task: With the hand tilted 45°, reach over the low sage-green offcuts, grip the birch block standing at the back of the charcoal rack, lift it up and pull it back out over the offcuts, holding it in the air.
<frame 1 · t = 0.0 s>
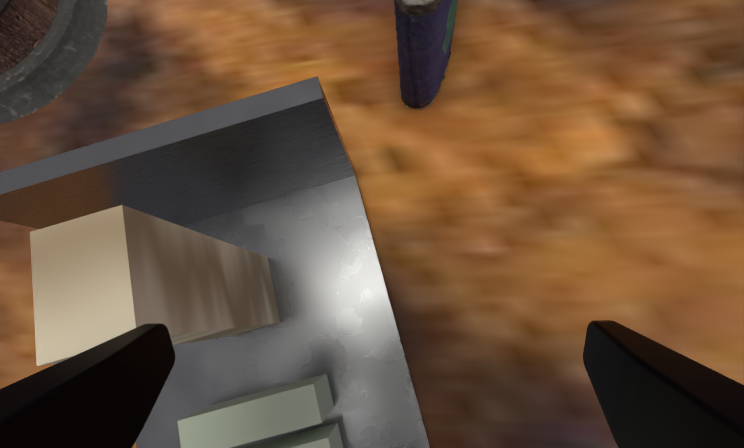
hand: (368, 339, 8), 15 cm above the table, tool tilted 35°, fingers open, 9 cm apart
rack: (270, 370, 23), on the table
flask: (428, 53, 27), on the table
birch block: (249, 295, 23), point 1 cm above the table, touching rack
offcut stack: (270, 370, 23), resting on rack
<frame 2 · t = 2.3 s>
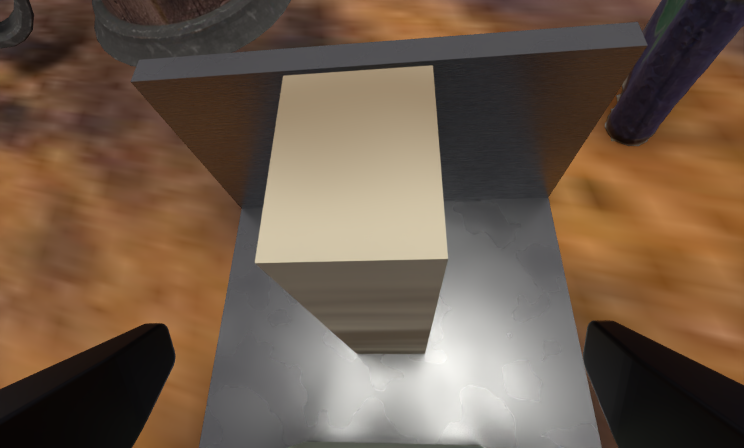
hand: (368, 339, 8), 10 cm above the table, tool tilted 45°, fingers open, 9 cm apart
rack: (392, 417, 16), on the table
flask: (641, 91, 23), on the table
tankard: (159, 13, 31), on the table
birch block: (390, 308, 17), point 1 cm above the table, touching rack
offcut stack: (392, 417, 16), resting on rack
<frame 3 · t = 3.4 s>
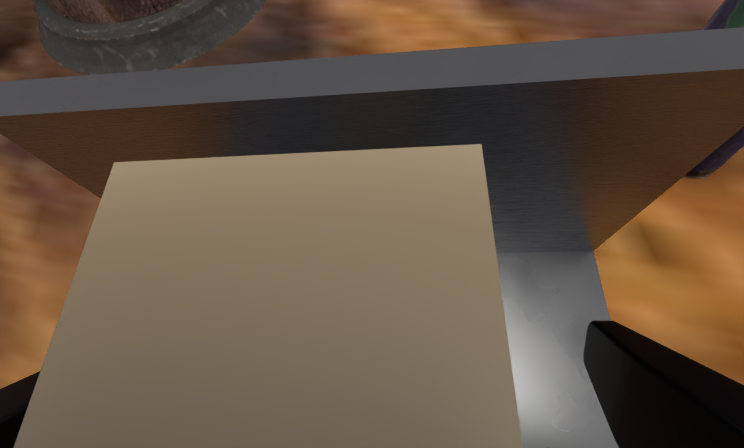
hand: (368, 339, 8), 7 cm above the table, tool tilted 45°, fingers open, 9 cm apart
flask: (700, 107, 18), on the table
tankard: (116, 10, 26), on the table
birch block: (386, 406, 13), point 1 cm above the table, touching rack
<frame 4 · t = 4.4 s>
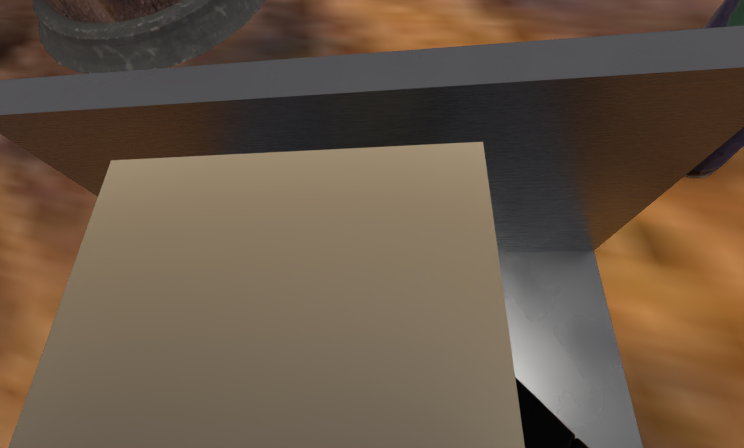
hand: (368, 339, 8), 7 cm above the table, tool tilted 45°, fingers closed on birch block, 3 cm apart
flask: (701, 106, 18), on the table
tankard: (116, 9, 26), on the table
birch block: (386, 406, 13), point 1 cm above the table, touching gripper, rack
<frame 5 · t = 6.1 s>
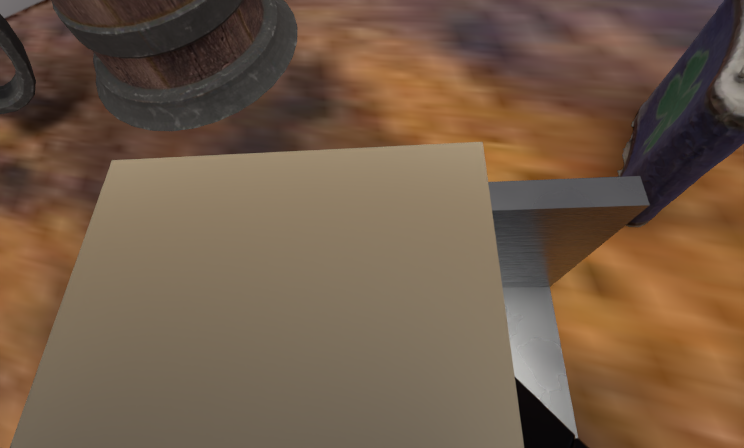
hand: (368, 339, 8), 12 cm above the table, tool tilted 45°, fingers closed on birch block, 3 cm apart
flask: (642, 166, 23), on the table
tankard: (161, 68, 31), on the table
birch block: (386, 406, 13), point 6 cm above the table, touching gripper
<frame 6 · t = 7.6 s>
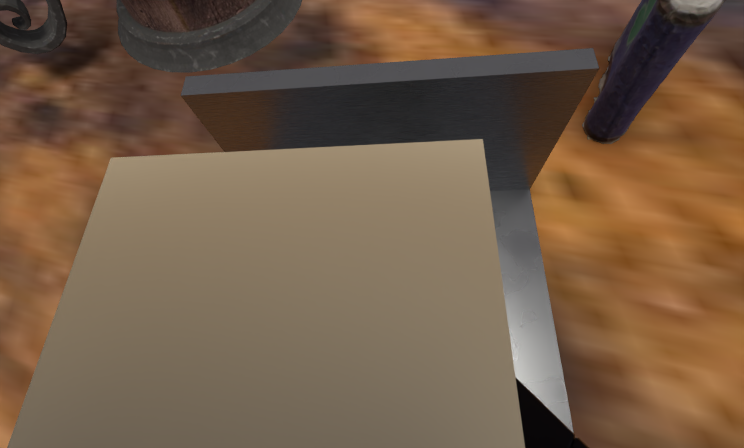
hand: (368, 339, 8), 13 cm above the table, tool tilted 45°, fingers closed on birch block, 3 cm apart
rack: (394, 375, 20), on the table
flask: (616, 94, 26), on the table
tankard: (178, 19, 33), on the table
birch block: (386, 406, 13), point 7 cm above the table, touching gripper
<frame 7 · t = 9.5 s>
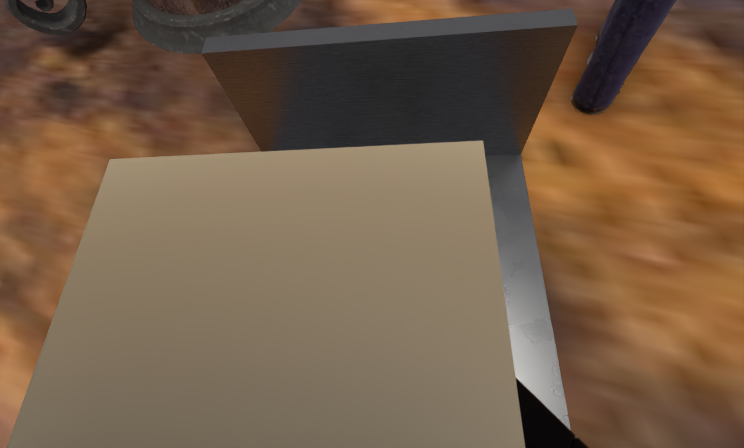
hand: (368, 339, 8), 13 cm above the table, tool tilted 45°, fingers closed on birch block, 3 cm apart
rack: (394, 321, 21), on the table
flask: (602, 70, 27), on the table
tankard: (189, 5, 35), on the table
birch block: (386, 406, 13), point 7 cm above the table, touching gripper
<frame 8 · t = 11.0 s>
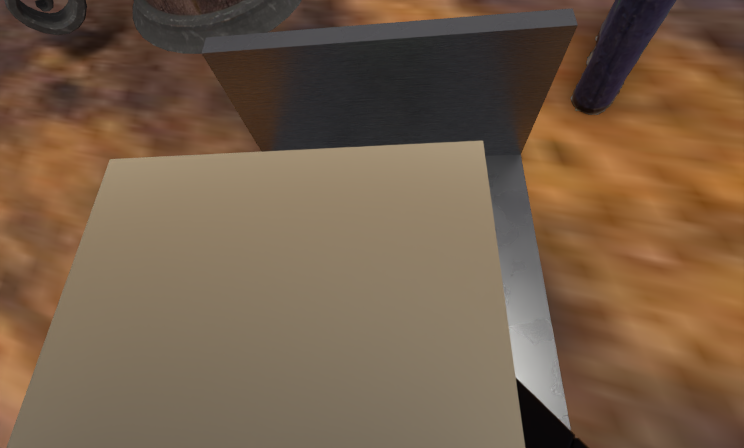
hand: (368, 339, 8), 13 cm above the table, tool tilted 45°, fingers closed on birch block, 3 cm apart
rack: (394, 321, 21), on the table
flask: (602, 70, 27), on the table
tankard: (189, 5, 35), on the table
birch block: (386, 406, 13), point 7 cm above the table, touching gripper
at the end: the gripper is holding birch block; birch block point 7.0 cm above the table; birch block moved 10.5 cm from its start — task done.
